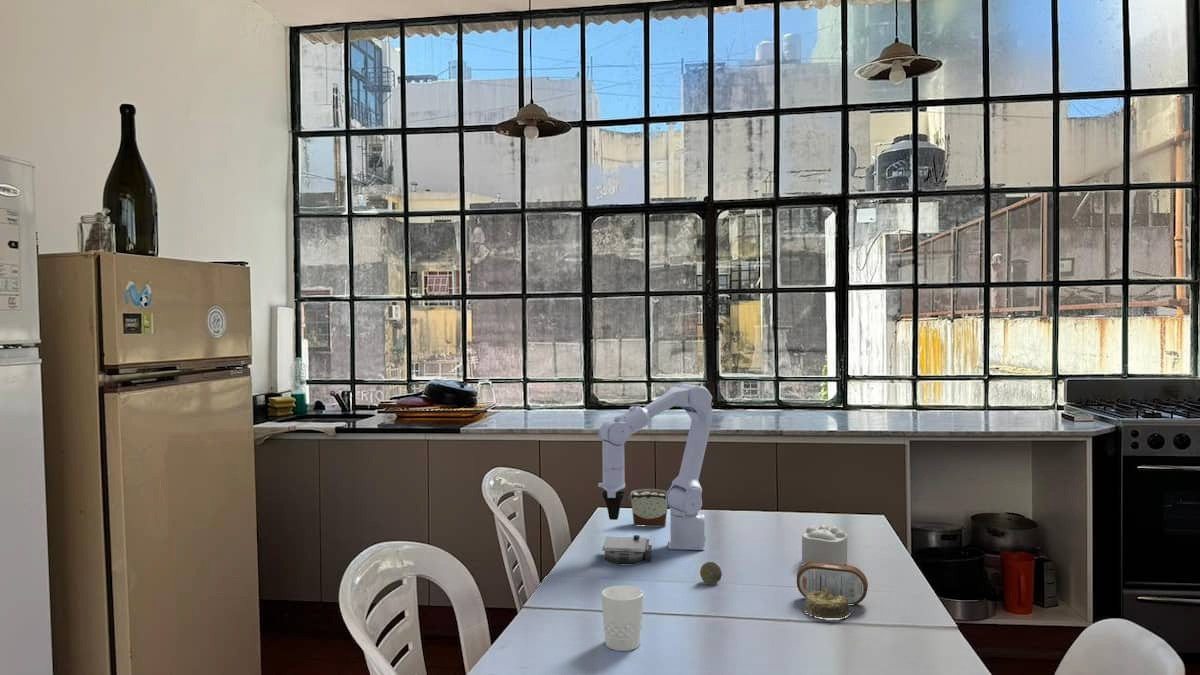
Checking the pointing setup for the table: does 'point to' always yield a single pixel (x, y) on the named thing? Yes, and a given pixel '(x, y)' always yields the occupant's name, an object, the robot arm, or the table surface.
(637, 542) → the lid
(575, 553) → the table surface
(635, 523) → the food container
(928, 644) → the table surface
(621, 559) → the pot
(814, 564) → the tin
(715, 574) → the lime
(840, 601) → the cake
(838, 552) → the lumpy-topped squat cylinder
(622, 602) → the white cup
